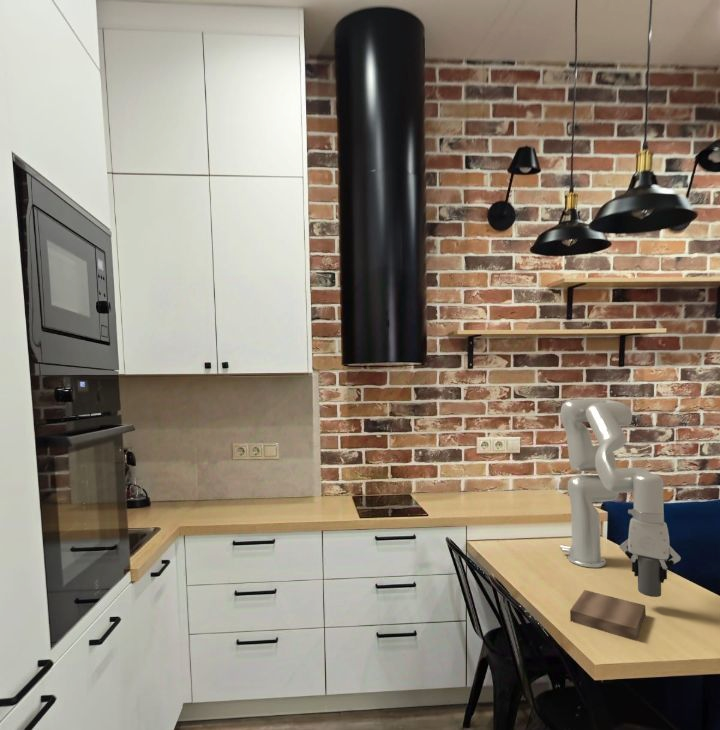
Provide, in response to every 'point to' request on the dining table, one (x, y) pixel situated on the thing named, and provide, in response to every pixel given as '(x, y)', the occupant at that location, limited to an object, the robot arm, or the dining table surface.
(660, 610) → the dining table surface
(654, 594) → the bottle
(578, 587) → the dining table surface
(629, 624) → the base
